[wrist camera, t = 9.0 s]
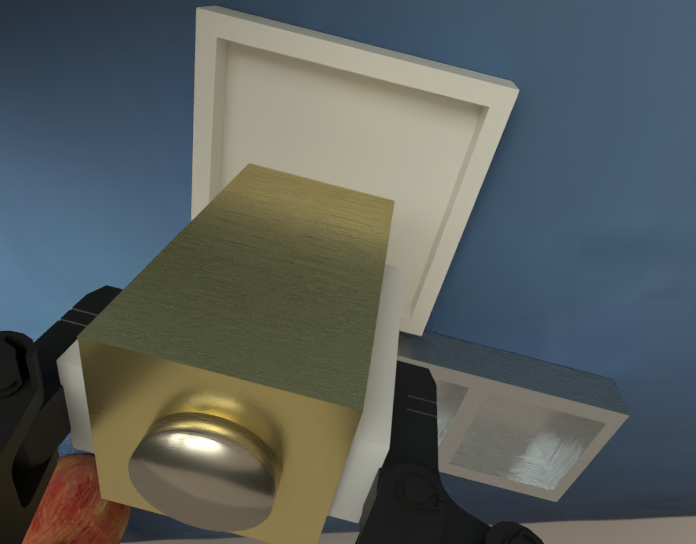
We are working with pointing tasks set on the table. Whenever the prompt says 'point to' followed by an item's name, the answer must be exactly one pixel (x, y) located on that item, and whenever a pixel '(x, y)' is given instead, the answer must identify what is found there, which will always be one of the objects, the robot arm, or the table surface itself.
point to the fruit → (77, 507)
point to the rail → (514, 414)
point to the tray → (349, 131)
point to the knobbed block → (242, 359)
